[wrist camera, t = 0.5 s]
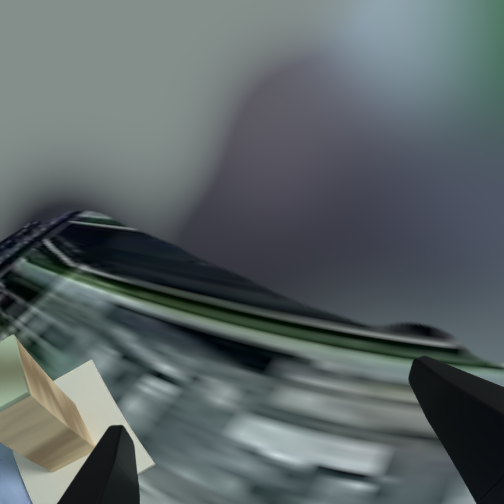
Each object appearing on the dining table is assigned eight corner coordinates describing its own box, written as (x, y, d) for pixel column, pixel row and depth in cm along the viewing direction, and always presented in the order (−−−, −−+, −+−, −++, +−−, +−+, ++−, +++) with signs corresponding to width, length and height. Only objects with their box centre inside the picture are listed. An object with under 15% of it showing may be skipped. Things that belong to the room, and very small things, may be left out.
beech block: (97, 449, 19) (27, 391, 13) (52, 472, 17) (-28, 422, 11) (74, 403, 22) (13, 334, 16) (34, 425, 20) (-36, 363, 14)
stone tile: (155, 464, 19) (154, 463, 19) (43, 521, 13) (41, 520, 13) (93, 361, 26) (91, 359, 26) (2, 412, 21) (0, 410, 20)
